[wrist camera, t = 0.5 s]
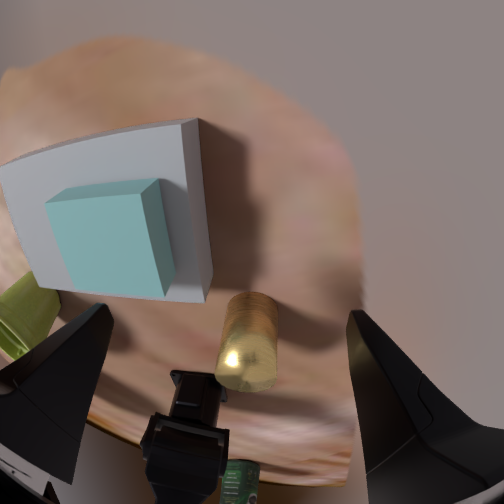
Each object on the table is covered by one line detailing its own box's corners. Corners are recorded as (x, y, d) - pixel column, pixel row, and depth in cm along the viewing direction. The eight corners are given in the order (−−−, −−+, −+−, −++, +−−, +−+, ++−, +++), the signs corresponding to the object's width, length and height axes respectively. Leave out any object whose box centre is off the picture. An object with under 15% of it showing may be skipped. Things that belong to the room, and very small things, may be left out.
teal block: (176, 273, 18) (164, 297, 16) (91, 269, 18) (75, 289, 16) (158, 177, 14) (140, 193, 12) (66, 188, 15) (44, 203, 13)
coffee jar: (219, 458, 53) (209, 522, 38) (249, 458, 51) (242, 526, 36) (236, 467, 58) (229, 525, 42) (264, 466, 56) (259, 527, 40)
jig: (213, 273, 22) (204, 303, 19) (57, 266, 24) (39, 286, 21) (197, 117, 16) (180, 124, 13) (23, 154, 17) (-3, 167, 14)
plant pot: (86, 309, 27) (50, 368, 19) (55, 326, 30) (26, 374, 22) (32, 246, 23) (-17, 297, 15) (10, 275, 26) (-26, 319, 18)
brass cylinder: (276, 328, 25) (275, 393, 19) (229, 326, 26) (218, 390, 20) (278, 292, 23) (278, 362, 17) (225, 290, 23) (210, 358, 17)
